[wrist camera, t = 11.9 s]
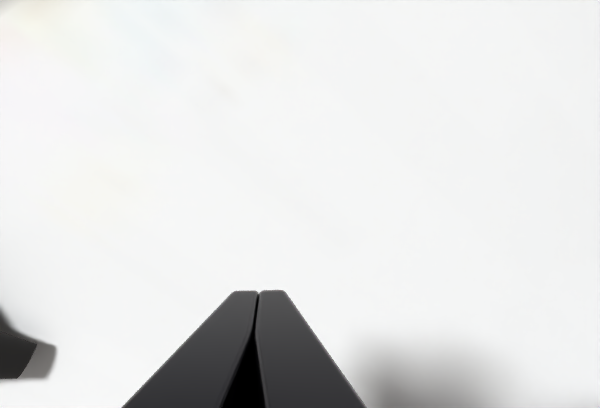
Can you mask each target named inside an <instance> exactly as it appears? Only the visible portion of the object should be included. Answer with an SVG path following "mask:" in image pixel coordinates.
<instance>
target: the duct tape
mask: <svg viewBox="0 0 600 408" xmlns="http://www.w3.org/2000/svg"><path fill="white" fill-rule="evenodd" d="M36 346H37V344H36V343H32V342H29V341H26V340H23V339H20V338H17V337H15V336H12V335H9V334H7V333H4V332H2V331H0V379H17V378H18V377H19V376H20V375H21V373H22V372H23V371H24V369H25V367H26V366H27V364H28V363H29V361H30V359H31V357H32V355H33V353H34V351H35V348H36Z"/></svg>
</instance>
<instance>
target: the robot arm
mask: <svg viewBox="0 0 600 408" xmlns="http://www.w3.org/2000/svg"><path fill="white" fill-rule="evenodd" d="M122 408H367V407H366V406H365V404H364V403H363V402H362V400H361V399H360V397H359V396H358V394H357V393H356V392H355V390H354V389H353V387H352V386H351V384H350V383H349V382H348V380H347V379H346V377H345V376H344V375H343V373H342V372H341V370H340V369H339V367H338V366H337V365H336V363H335V362H334V360H333V359H332V357H331V356H330V355H329V353H328V352H327V350H326V349H325V348H324V346H323V345H322V343H321V342H320V340H319V339H318V338H317V336H316V335H315V333H314V332H313V331H312V329H311V328H310V326H309V325H308V323H307V322H306V321H305V319H304V318H303V316H302V315H301V313H300V312H299V311H298V309H297V308H296V306H295V305H294V304H293V302H292V301H291V299H290V298H289V296H288V295H287V294H286V292H285V291H283V290H263V291H261V292H260V293H259V294H258V292H257V291H234V292H233V293H231V294H230V295H229V296H228V297H227V299H226V300H225V301H224V302H223V303H222V304H221V305H220V306H219V307H218V308H217V309H216V310H215V311H214V312H213V313H212V314H211V315H210V316H209V317H208V318H207V319H206V320H205V321H204V322H203V323H202V325H201V326H200V327H199V328H198V329H197V330H196V331H195V332H194V333H193V334H192V335H191V336H190V337H189V338H188V339H187V340H186V341H185V342H184V343H183V344H182V345H181V346H180V347H179V348H178V349H177V350H176V352H175V353H174V354H173V355H172V356H171V357H170V358H169V359H168V360H167V361H166V362H165V363H164V364H163V365H162V366H161V367H160V368H159V369H158V370H157V371H156V372H155V373H154V374H153V375H152V376H151V377H150V379H149V380H148V381H147V382H146V383H145V384H144V385H143V386H142V387H141V388H140V389H139V390H138V391H137V392H136V393H135V394H134V395H133V396H132V397H131V398H130V399H129V400H128V401H127V402H126V403H125V405H124V406H123V407H122Z"/></svg>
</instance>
